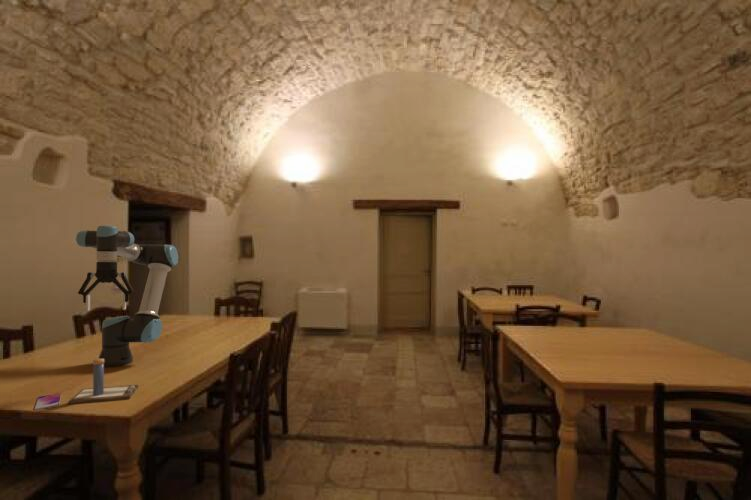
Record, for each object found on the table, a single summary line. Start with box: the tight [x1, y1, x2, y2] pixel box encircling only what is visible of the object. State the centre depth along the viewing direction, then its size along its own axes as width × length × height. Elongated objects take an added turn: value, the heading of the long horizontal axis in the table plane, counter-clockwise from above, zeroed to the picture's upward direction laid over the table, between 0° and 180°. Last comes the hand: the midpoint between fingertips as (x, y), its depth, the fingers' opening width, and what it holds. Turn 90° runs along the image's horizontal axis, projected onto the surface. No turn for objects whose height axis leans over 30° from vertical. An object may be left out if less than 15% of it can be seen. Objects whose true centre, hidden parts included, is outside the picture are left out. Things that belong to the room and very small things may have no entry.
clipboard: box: [67, 384, 139, 405], centre depth 160 cm, size 14×20×2 cm
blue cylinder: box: [92, 358, 105, 396], centre depth 157 cm, size 4×4×14 cm
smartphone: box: [33, 392, 62, 411], centre depth 152 cm, size 7×1×15 cm
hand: (106, 310), depth 175 cm, fingers open, 13 cm apart
